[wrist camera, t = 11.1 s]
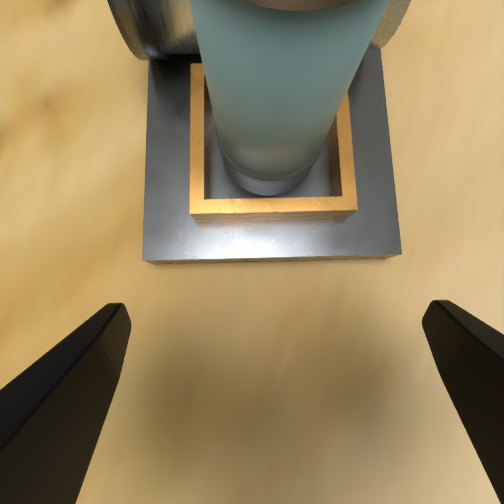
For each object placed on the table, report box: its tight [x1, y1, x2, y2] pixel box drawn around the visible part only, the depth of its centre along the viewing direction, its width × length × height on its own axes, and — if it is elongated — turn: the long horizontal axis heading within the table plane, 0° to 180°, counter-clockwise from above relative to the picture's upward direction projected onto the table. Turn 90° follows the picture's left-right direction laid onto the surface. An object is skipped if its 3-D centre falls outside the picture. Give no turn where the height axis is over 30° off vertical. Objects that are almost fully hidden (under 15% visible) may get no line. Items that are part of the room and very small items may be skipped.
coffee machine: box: [107, 0, 411, 264], centre depth 16 cm, size 20×16×10 cm
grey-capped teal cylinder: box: [189, 0, 389, 196], centre depth 12 cm, size 6×6×13 cm
